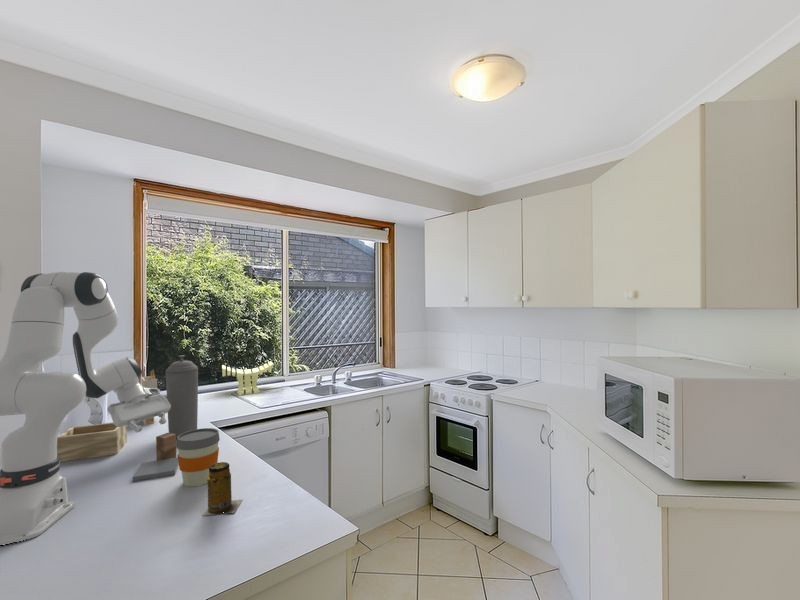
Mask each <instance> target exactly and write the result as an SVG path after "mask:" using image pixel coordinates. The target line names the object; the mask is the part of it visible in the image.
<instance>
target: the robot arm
mask: <svg viewBox="0 0 800 600" xmlns="http://www.w3.org/2000/svg"><path fill="white" fill-rule="evenodd" d="M108 289H109V288H108V284H107V282H106V280H105V279H104V278H103V277H102V276H101V275H100V274H97V273H95V272H87V271H85V272H77V271H76V272H72V271H71V272H66V271H57V272H48V273H36V274H33V275H30V276H28V277H27V278H25V279H24V281H23V282H22V284H21V286H20V293H19V296H18V298H17V300H16V304H15V306H14V309H13V313H12V317H11V323H10V329H9V330H10V331H9V336H8V341H7V345H6V348H5V351H4V354H3V356H2V358H1V359H0V417H1V416H2V417H4V416H15V415H17V416H18V415H25V421H24V424H23V426H20V427H19V428H17V429H15V430H14V431H12V432H9V434H8V435H7V436H5V438H4V439H3V441H2V442H1V469H0V545H3V544H8V543H13V542H17V543H20V542H19V541H21V542H24V541H27V540H30V539H33V538H35V537H38V536H39V535H42V533H43V532H45V531H46V530H47V529H49V528H50V527H51V526H53V524H55V523H57V521H58V520H60V519H61V518H62V517H63V516H65V515H66V514H67V513H68V512H69V511H71V510H72V509H73V508H74V507H75V503H74V502H73V501H69V498H68V489H67V486H68V485H67V480H66V477H64V476H63V475H61V473H60V472H59V471H60V466H61V462H60V461H59V457H57V439H58V437H59V431H60V430H59V429H60V428H61V424H62V422H63V421H64V419H65V418H66V417H67V415H68V414H69V413H70V412H71V411H72V410H73V409H75V408H77V407H78V406H79V405H80V404H81V403H82V401H83V400H84V399H85V397H86V398H90V399H99V398H101V397H103V396H105V395H107V394H108V393H111V392H112V391H113V393H114V394H116V397H117V400H118V402H116V403H111V404H109V406H108V407H107V412H108V413H109V414H110V416H111V420H112V422H114V425H115V426H117V427H121V426H125V425H126V426H128V428H131V429H133V430H134V431H135V433H139V432H141V431H142V430H143V427H142V425H141V424H139V425H138V424H136V423H137V422H138V423H139V422H143V421H142V420H145V419H148V418H152V417H154V418H155V417H159V418H160V419H159V421H158V422H159V423H160V425H164V424H166V423H167V420H166V414H168V411H169V410H170V408H171V405H170V403H169V401H168V400H167V396H165V395H164V394H162V393H161V390H160V389H159V388H157V389H153V388H144V387H143V386H142V383H140V382H139V380H141V378H142V374H143V371H142V369H141V367H140V366H139V364H138V363H137V361H136V359H134V358H132V357H128V356H127V357H126V356H125V357H123V358H120V359H117V360H114V361H112V362H110V363H108V364H106V365H103V366H101V367H99V368H98V367H97V368H95V369H94V365H93V362H92V361H93V360H92V351H93V349H94V348H95V347H96V346H97V345H98V344H99V343H100V342H101V341H103V340H104V339H105V338H107V337H108V336H110V335H111V334H112V333H113V332H114V331H115V330H116V329H117V326H118V325H119V320H120V318H119V313H118V312H117V311H118V310H117V309H116V308H117V307H116V306H115V303H114V301H113V299H112V297H111V296H110V293H109V292H108ZM65 308H73V310H74V314H75V316H76V319H77V322H78V325H77V329H76V331H75V332H74V333H73V334H72V347H73V348H72V349H73V353H74V357H75V358H74V359H75V363H76V366H77V367H76V368H77V372H78V373H77V374H76V373H69V372H68V373H67V372H60V371H59V372H57V371H55V372H39V373H38V372H37V370H38V369H39V367H40V365H42V364H43V362H45V361H47V360H49V359H52V358H53V357H55V356H56V355H57V354H58V353H59V352H60V350H61V349H62V342H63V336H64V335H63V332H64V325H65ZM36 372H37V373H36ZM26 539H27V540H26ZM23 540H24V541H23ZM13 544H14V543H13Z"/></svg>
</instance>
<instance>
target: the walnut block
mask: <svg viewBox="0 0 800 600" xmlns="http://www.w3.org/2000/svg"><path fill="white" fill-rule="evenodd" d="M176 445H177V438H176V434H173V433H169V432H166V433H163V434H159V435H157V436H155V446H156V447H155V449H156V450H155V451H156V453H155V454H156V458H155V459H156V461H157V460H164V459H171V458H177V447H176Z"/></svg>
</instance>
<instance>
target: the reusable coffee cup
mask: <svg viewBox="0 0 800 600" xmlns="http://www.w3.org/2000/svg"><path fill="white" fill-rule="evenodd" d="M220 438H221V437H220V433H219V430H218V429H216V428H211V427H209V428H207V427H204V428H197V429H195V430H191V431H187V432H185V433H182V434H180V435H179V436H178V437H177V438H176V449H177V452H178V454H177V457H178V463H179V466H178V468H179V471H181V477H182V482H183V486H185V487H188V486H196V487H200V486H199V485H201V486H204V485H207V484H208V481H207V479H208V476H209V467H210V466H211V465H213V464H215V463H219V462H218V461H219V451H220V447H219V442H220ZM206 483H207V484H206ZM203 484H204V485H203Z"/></svg>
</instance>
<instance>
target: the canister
mask: <svg viewBox="0 0 800 600" xmlns="http://www.w3.org/2000/svg"><path fill="white" fill-rule="evenodd" d="M184 357H186V356H185V354H183V355H182V354H181V355H178V358H179V360H177V361H174V362H172V363H171V364H170V365H169V366H168V367H167V369H165V385H166V399H167V400H168V401H169V403H170V405H171V408H170V410H169V411H168V412H167V427H168V433H173V434H176V439H177V437H178V436H179V435H180V434H182V433H185V432H187V431H191V430H195V429H198V415H199V414H198V409H199V407H198V406H199V404H198V402H199V399H198V398H199V368H198V366H197V365H196V364H195V363H194V362H193V361H191V360H185V359H184Z"/></svg>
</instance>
